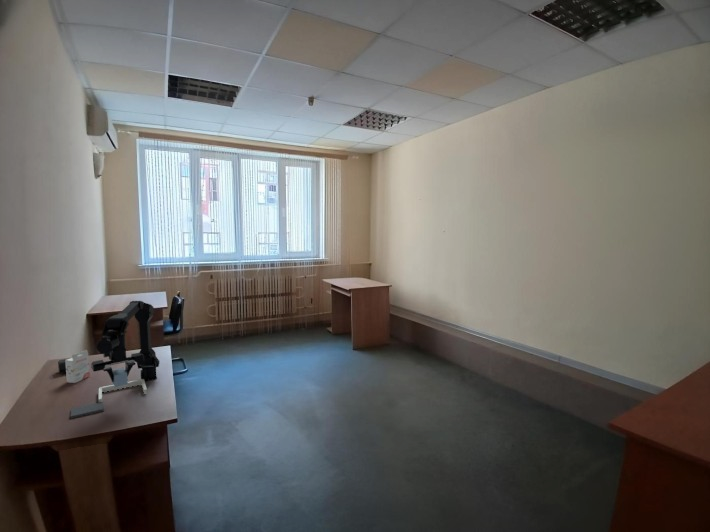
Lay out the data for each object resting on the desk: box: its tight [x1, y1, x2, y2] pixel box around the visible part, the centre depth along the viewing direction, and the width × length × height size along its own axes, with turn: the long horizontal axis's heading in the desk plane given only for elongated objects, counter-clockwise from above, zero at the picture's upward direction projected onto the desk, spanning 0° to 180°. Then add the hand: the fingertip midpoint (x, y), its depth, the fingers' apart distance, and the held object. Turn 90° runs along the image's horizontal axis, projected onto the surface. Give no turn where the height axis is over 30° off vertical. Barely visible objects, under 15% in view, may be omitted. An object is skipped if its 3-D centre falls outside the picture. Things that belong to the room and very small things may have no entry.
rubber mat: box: [70, 401, 105, 420], centre depth 149 cm, size 11×8×1 cm
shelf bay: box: [98, 378, 148, 403], centre depth 166 cm, size 18×14×2 cm
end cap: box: [57, 358, 67, 374], centre depth 191 cm, size 10×7×7 cm
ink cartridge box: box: [65, 349, 91, 384], centre depth 180 cm, size 9×5×15 cm, turn 168°
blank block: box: [111, 367, 129, 387], centre depth 154 cm, size 4×8×5 cm, turn 44°
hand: (119, 380), depth 154 cm, fingers closed on blank block, 4 cm apart
